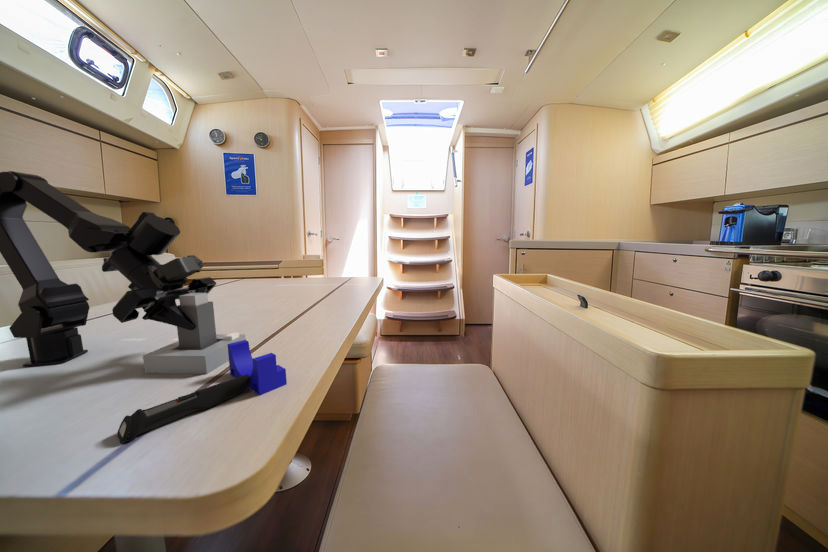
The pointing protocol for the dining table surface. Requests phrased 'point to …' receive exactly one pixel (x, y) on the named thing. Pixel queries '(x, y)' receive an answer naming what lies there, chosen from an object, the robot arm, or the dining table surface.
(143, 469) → the dining table surface
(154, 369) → the socket
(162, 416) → the electric trimmer
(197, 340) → the plug
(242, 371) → the cable clip
